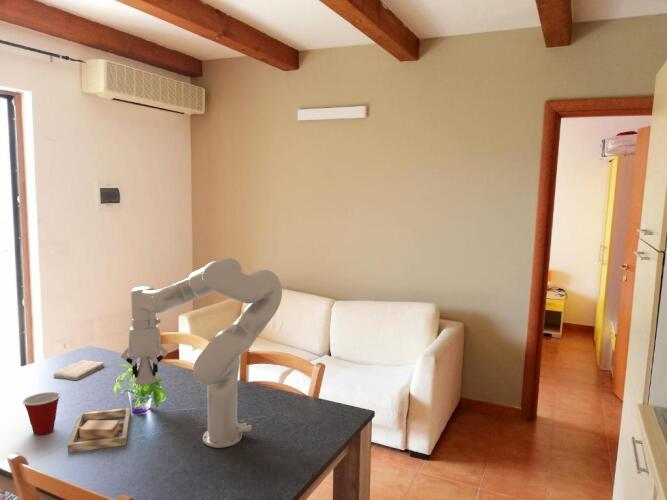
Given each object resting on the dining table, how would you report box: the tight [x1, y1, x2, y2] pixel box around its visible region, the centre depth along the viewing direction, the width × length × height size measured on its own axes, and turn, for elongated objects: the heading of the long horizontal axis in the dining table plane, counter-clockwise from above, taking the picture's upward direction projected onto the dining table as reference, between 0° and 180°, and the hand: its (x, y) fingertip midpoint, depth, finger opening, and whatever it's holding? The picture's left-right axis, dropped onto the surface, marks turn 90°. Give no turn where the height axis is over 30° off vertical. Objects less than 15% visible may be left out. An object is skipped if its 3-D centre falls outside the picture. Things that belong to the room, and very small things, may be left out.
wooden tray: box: [67, 407, 131, 453], centre depth 165 cm, size 16×22×2 cm
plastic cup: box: [22, 391, 61, 436], centre depth 164 cm, size 11×11×12 cm
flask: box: [133, 357, 158, 386], centre depth 167 cm, size 7×7×10 cm
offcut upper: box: [79, 419, 120, 439], centre depth 159 cm, size 10×6×3 cm, turn 93°
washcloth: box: [53, 359, 105, 381], centre depth 215 cm, size 12×18×3 cm, turn 167°
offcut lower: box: [80, 431, 119, 442], centre depth 159 cm, size 10×6×3 cm, turn 106°
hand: (145, 374), depth 168 cm, fingers closed on flask, 5 cm apart
